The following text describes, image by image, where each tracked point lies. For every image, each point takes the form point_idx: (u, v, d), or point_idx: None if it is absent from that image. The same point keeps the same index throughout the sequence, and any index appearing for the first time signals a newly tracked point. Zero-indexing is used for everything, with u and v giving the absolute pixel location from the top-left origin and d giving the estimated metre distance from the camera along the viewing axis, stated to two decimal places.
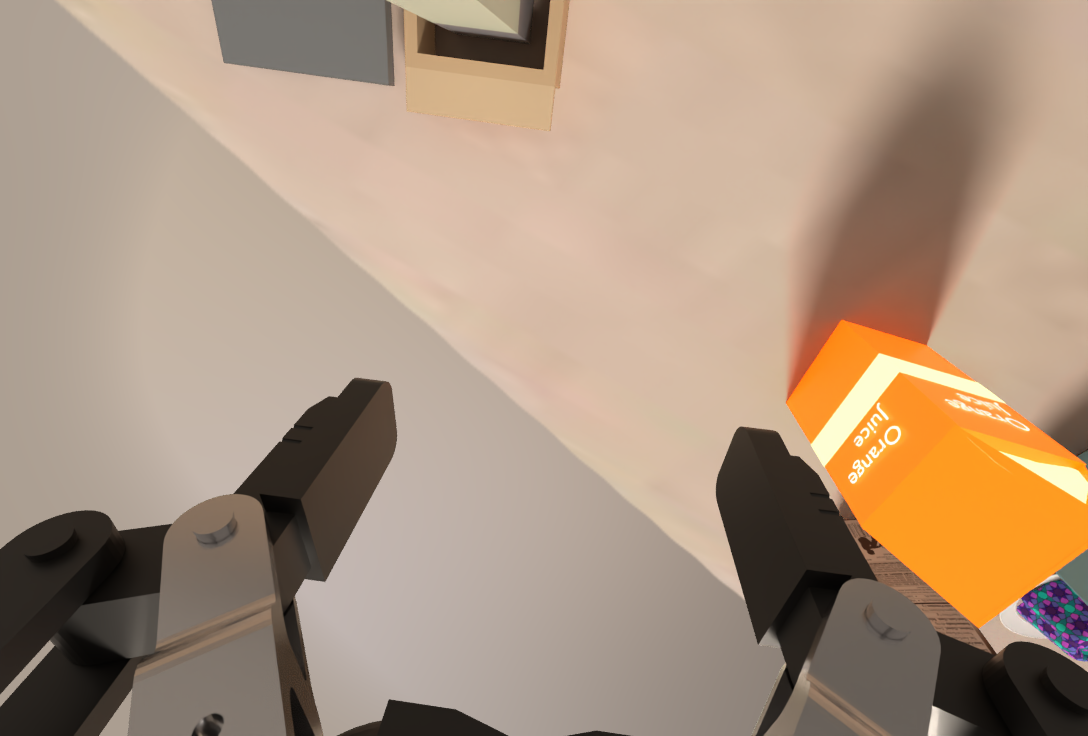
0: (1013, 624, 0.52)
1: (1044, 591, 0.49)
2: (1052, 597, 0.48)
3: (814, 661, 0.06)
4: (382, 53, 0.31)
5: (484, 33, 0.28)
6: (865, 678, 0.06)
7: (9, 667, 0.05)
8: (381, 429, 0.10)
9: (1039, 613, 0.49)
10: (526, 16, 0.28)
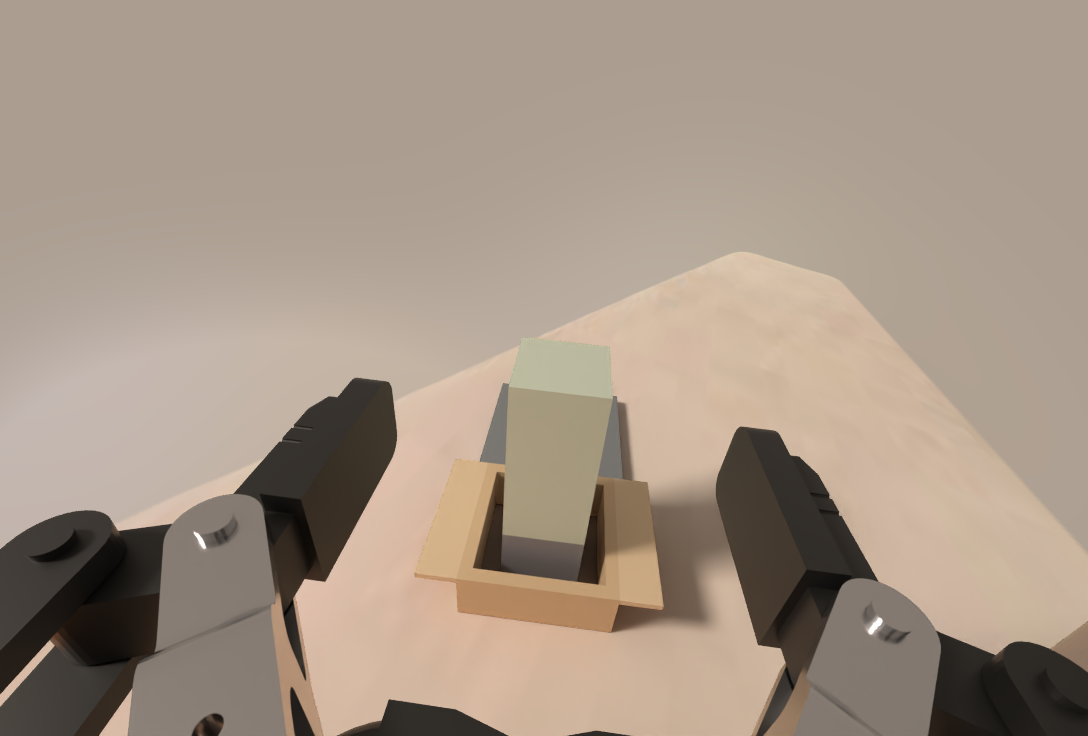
0: None
1: None
2: None
3: (814, 661, 0.06)
4: (500, 463, 0.38)
5: None
6: (865, 678, 0.06)
7: (8, 667, 0.05)
8: (381, 430, 0.10)
9: None
10: (519, 563, 0.29)
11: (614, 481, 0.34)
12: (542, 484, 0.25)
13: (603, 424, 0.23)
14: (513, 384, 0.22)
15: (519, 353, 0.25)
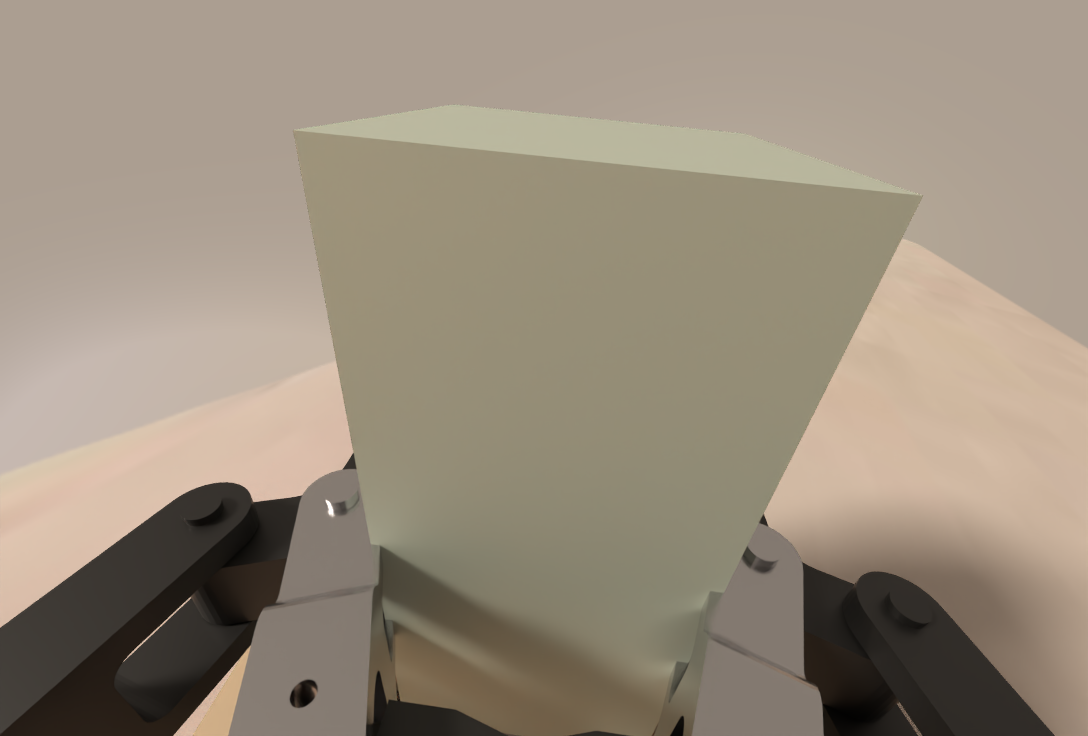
0: None
1: None
2: None
3: (708, 610, 0.06)
4: None
5: None
6: (750, 613, 0.06)
7: (151, 619, 0.06)
8: None
9: None
10: None
11: None
12: (515, 603, 0.07)
13: (813, 367, 0.04)
14: (332, 130, 0.04)
15: (426, 110, 0.06)
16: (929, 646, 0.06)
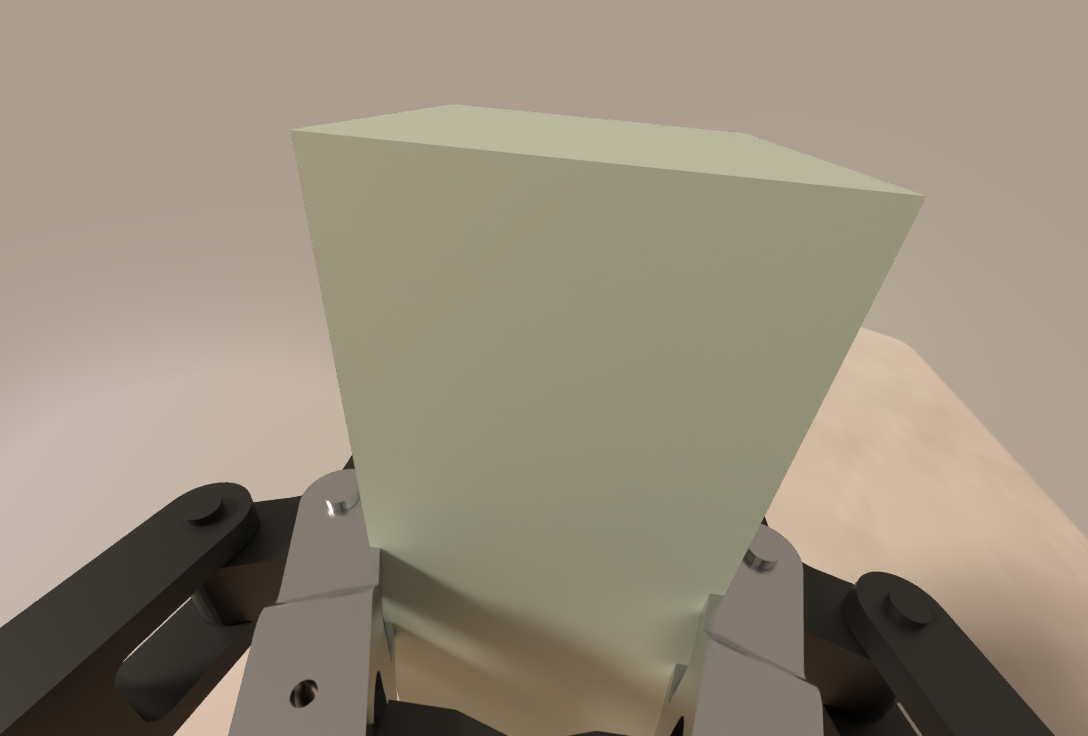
0: None
1: None
2: None
3: (708, 610, 0.06)
4: None
5: None
6: (750, 613, 0.06)
7: (151, 620, 0.06)
8: None
9: None
10: None
11: None
12: (514, 605, 0.07)
13: (815, 369, 0.04)
14: (330, 130, 0.04)
15: (425, 110, 0.06)
16: (929, 646, 0.06)
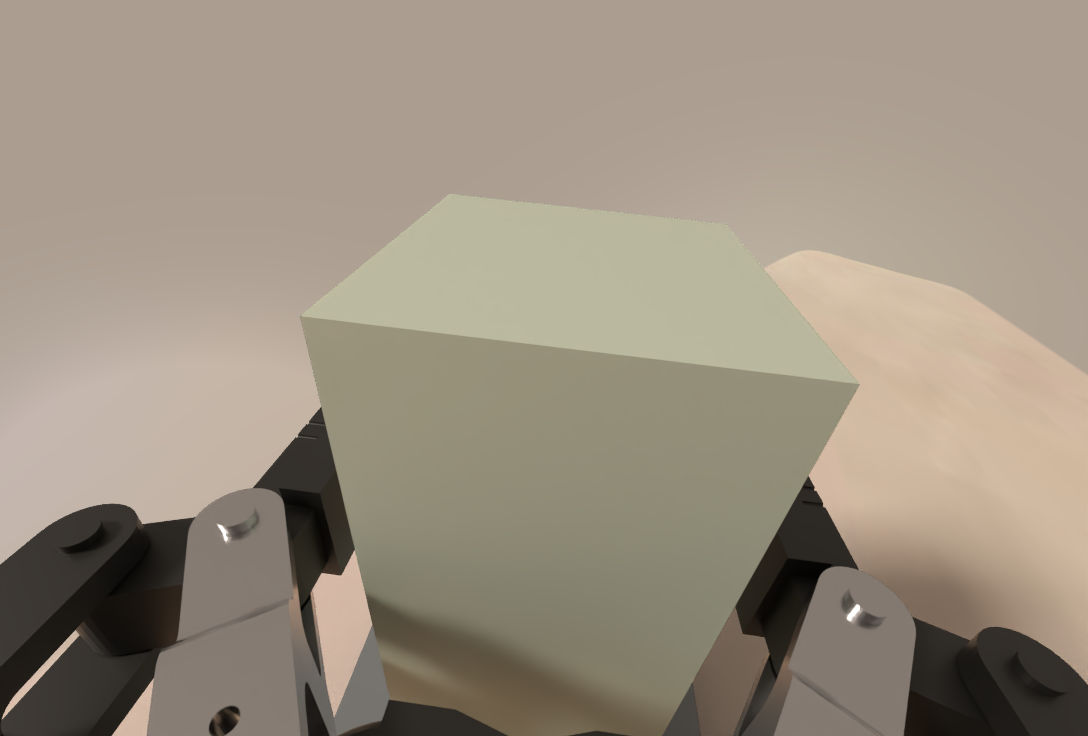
0: None
1: None
2: None
3: (796, 650, 0.06)
4: None
5: None
6: (845, 665, 0.06)
7: (35, 656, 0.05)
8: None
9: None
10: None
11: None
12: (506, 672, 0.08)
13: (770, 504, 0.05)
14: (334, 307, 0.04)
15: (422, 221, 0.07)
16: (1062, 717, 0.05)
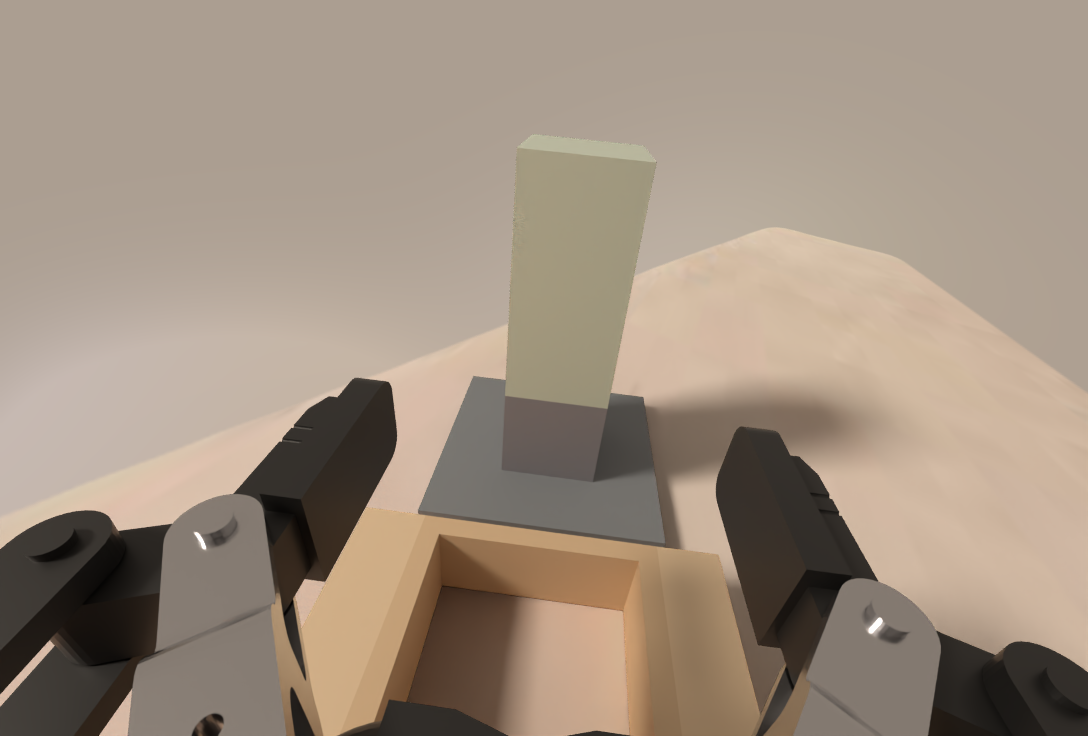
0: None
1: None
2: None
3: (814, 661, 0.06)
4: (456, 509, 0.23)
5: None
6: (865, 678, 0.06)
7: (9, 667, 0.05)
8: (381, 430, 0.10)
9: None
10: (525, 440, 0.24)
11: (656, 553, 0.19)
12: (558, 312, 0.20)
13: (641, 208, 0.17)
14: (523, 147, 0.17)
15: (530, 138, 0.19)
16: None
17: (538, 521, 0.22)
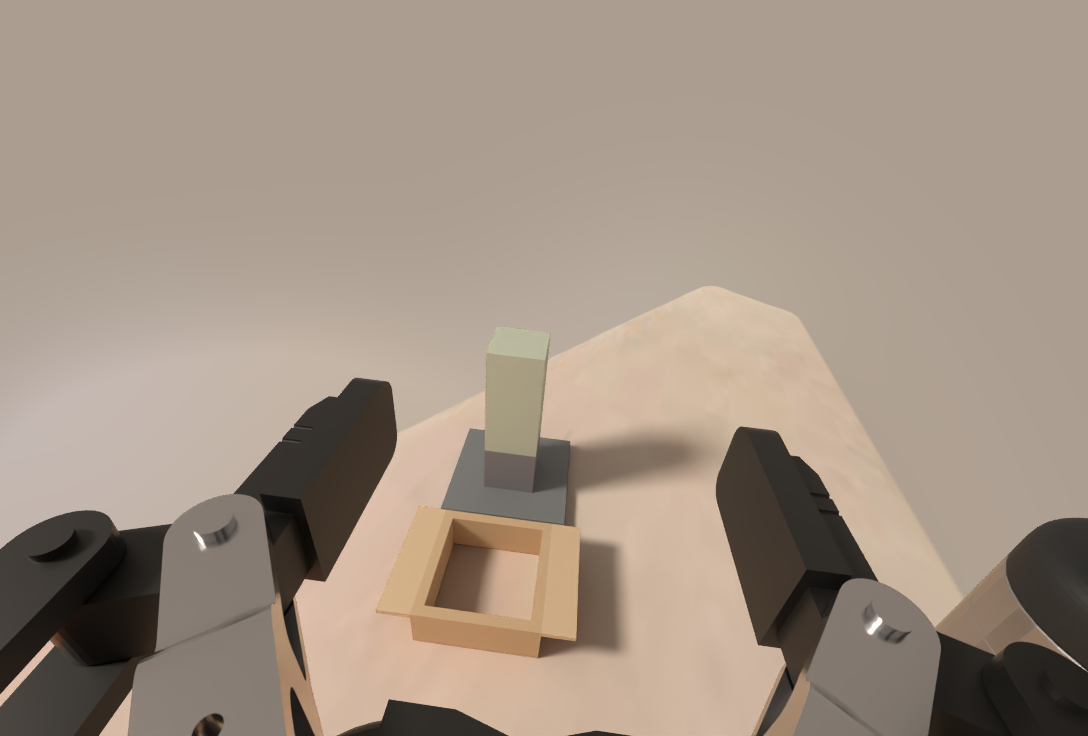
0: None
1: None
2: None
3: (814, 661, 0.06)
4: (460, 507, 0.45)
5: None
6: (865, 678, 0.06)
7: (8, 668, 0.05)
8: (381, 429, 0.10)
9: None
10: (495, 471, 0.46)
11: (551, 527, 0.41)
12: (508, 414, 0.42)
13: (541, 375, 0.39)
14: (489, 351, 0.39)
15: (494, 335, 0.41)
16: None
17: (501, 513, 0.45)
